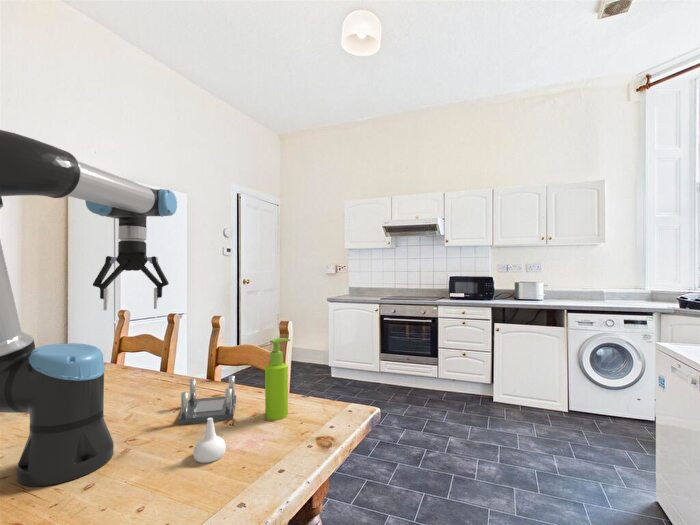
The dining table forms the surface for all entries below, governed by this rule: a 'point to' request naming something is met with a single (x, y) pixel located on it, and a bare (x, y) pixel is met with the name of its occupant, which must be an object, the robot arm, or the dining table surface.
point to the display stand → (207, 405)
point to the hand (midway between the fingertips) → (131, 309)
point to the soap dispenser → (276, 383)
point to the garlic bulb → (209, 445)
